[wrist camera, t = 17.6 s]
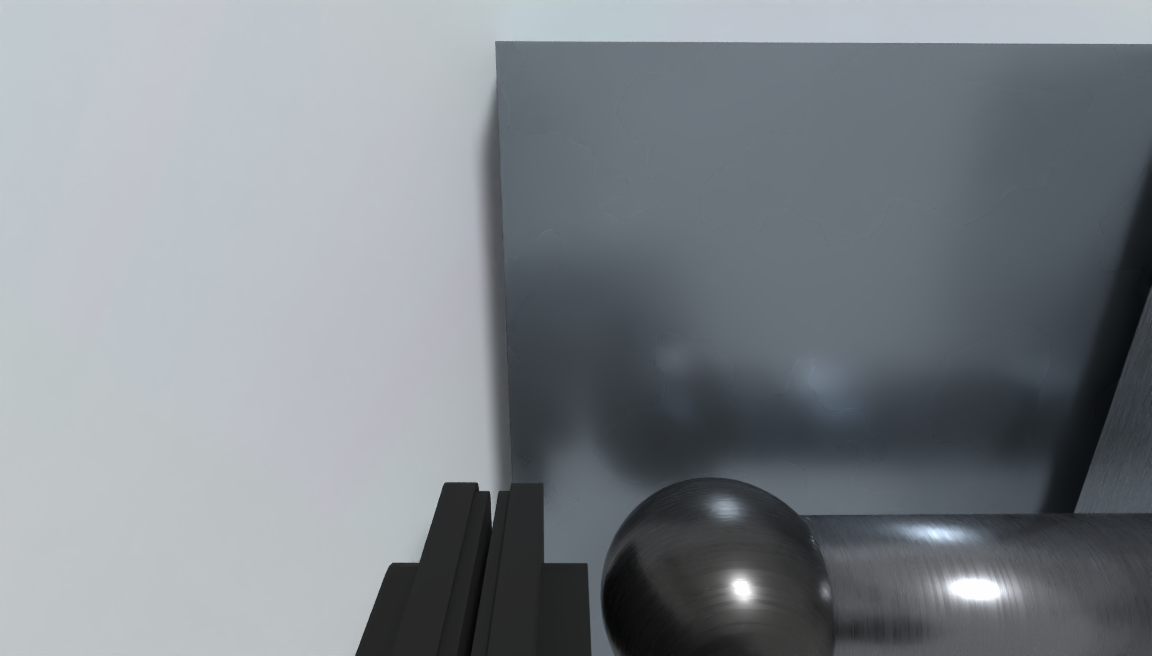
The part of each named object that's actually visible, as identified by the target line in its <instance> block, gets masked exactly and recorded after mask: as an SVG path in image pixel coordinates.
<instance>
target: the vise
mask: <svg viewBox="0 0 1152 656" xmlns="http://www.w3.org/2000/svg"><path fill="white" fill-rule="evenodd" d="M495 45H496V71H497V97H498V123H499V149H500V175H501V201H502V227H503V253H504V279H505V305H506V331H507V357H508V383H509V409H510V435H511V461H512V483H543V486H544V563H587V564H588V582H589V605H590V629H591V653H592V656H614V654H613V651H612V649H611V646H610V644H609V641H608V638H607V635H606V632H605V628H604V623H603V618H602V612H601V600H600V590H601V577H602V571H603V566H604V562H605V558H606V555H607V552H608V549H609V547H610V545H611V542H612V540H613V538H614V536H615V534H616V532H617V530H618V529H619V527H620V526H621V524H622V523H623V521H624V520H625V519H626V518H627V516H628V515H629V514H630V513H631V512H632V510H633V509H634V508H636V507H637V506H638V505H639V504H640V503H641V502H642V501H644V500H645V499H646V498H648V497H649V496H651V495H652V494H654V493H655V492H657V491H659V490H661V489H662V488H664V487H667V486H669V485H672V484H674V483H677V482H680V481H684V480H688V479H694V478H705V477H714V478H728V479H734V480H738V481H742V482H745V483H749V484H751V485H754V486H756V487H758V488H761V489H763V490H765V491H767V492H769V493H771V494H772V495H774V496H776V497H777V498H779V499H780V500H782V501H783V502H785V503H786V504H787V505H788V506H790V507H791V508H792V509H793V510H794V511H796V512H797V513H798V515H890V514H1051V513H1074V511H1075V508H1076V505H1077V502H1078V499H1079V496H1080V494H1081V491H1082V488H1083V485H1084V482H1085V479H1086V476H1087V473H1088V470H1089V467H1090V464H1091V461H1092V458H1093V456H1094V453H1095V450H1096V447H1097V444H1098V441H1099V438H1100V435H1101V432H1102V429H1103V426H1104V423H1105V420H1106V418H1107V415H1108V412H1109V409H1110V406H1111V403H1112V400H1113V397H1114V394H1115V391H1116V388H1117V385H1118V382H1119V380H1120V377H1121V374H1122V371H1123V368H1124V365H1125V362H1126V359H1127V356H1128V353H1129V350H1130V347H1131V344H1132V342H1133V339H1134V336H1135V333H1136V330H1137V327H1138V324H1139V321H1140V318H1141V315H1142V312H1143V309H1144V306H1145V304H1146V301H1147V298H1148V295H1149V292H1150V289H1151V286H1152V44H974V43H748V42H523V41H495Z"/></svg>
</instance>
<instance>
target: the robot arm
mask: <svg viewBox="0 0 1152 656" xmlns="http://www.w3.org/2000/svg"><path fill="white" fill-rule="evenodd" d="M355 656H592V653H591V629H590V605H589V582H588V564H587V563H544V486H543V483H512V484H511V489H510V491H499V493H498V498H497V504H496V510H495V516H494V522H493V528H492V521H491V498H490V492H489V491H479V486H478V483H472V482H446V483H444V485H443V488H442V491H441V495H440V498H439V501H438V504H437V508H436V511H435V514H434V517H433V520H432V524H431V527H430V530H429V533H428V537H427V540H426V543H425V546H424V549H423V553H422V556H421V559H420V562H419V563H392V564H391V565H390V566H389V568H388V570H387V572H386V574H385V577H384V580H383V582H382V585H381V588H380V590H379V593H378V596H377V598H376V601H375V604H374V606H373V609H372V612H371V614H370V617H369V620H368V623H367V625H366V628H365V631H364V633H363V636H362V639H361V641H360V644H359V647H358V649H357V652H356V655H355Z"/></svg>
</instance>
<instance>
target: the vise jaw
mask: <svg viewBox="0 0 1152 656" xmlns="http://www.w3.org/2000/svg"><path fill="white" fill-rule="evenodd" d="M600 600H601V612H602V618H603V623H604V628H605V632H606V635H607V638H608V641H609V644H610V646H611V649H612V651H613V654H614V656H1152V286H1151V289H1150V292H1149V295H1148V298H1147V301H1146V304H1145V306H1144V309H1143V312H1142V315H1141V318H1140V321H1139V324H1138V327H1137V330H1136V333H1135V336H1134V339H1133V342H1132V344H1131V347H1130V350H1129V353H1128V356H1127V359H1126V362H1125V365H1124V368H1123V371H1122V374H1121V377H1120V380H1119V382H1118V385H1117V388H1116V391H1115V394H1114V397H1113V400H1112V403H1111V406H1110V409H1109V412H1108V415H1107V418H1106V420H1105V423H1104V426H1103V429H1102V432H1101V435H1100V438H1099V441H1098V444H1097V447H1096V450H1095V453H1094V456H1093V458H1092V461H1091V464H1090V467H1089V470H1088V473H1087V476H1086V479H1085V482H1084V485H1083V488H1082V491H1081V494H1080V496H1079V499H1078V502H1077V505H1076V508H1075V511H1074V513H1051V514H890V515H798V513H797V512H796V511H794V510H793V509H792V508H791V507H790V506H788V505H787V504H786V503H785V502H783V501H782V500H780V499H779V498H777V497H776V496H774V495H772V494H771V493H769V492H767V491H765V490H763V489H761V488H758V487H756V486H754V485H751V484H749V483H745V482H742V481H738V480H734V479H728V478H714V477H705V478H694V479H688V480H684V481H680V482H677V483H674V484H672V485H669V486H667V487H664V488H662V489H661V490H659V491H657V492H655V493H654V494H652V495H651V496H649V497H648V498H646V499H645V500H644V501H642V502H641V503H640V504H639V505H638V506H637V507H636V508H634V509H633V510H632V512H631V513H630V514H629V515H628V516H627V518H626V519H625V520H624V521H623V523H622V524H621V526H620V527H619V529H618V530H617V532H616V534H615V536H614V538H613V540H612V542H611V545H610V547H609V549H608V552H607V555H606V558H605V562H604V566H603V571H602V577H601V590H600Z"/></svg>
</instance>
